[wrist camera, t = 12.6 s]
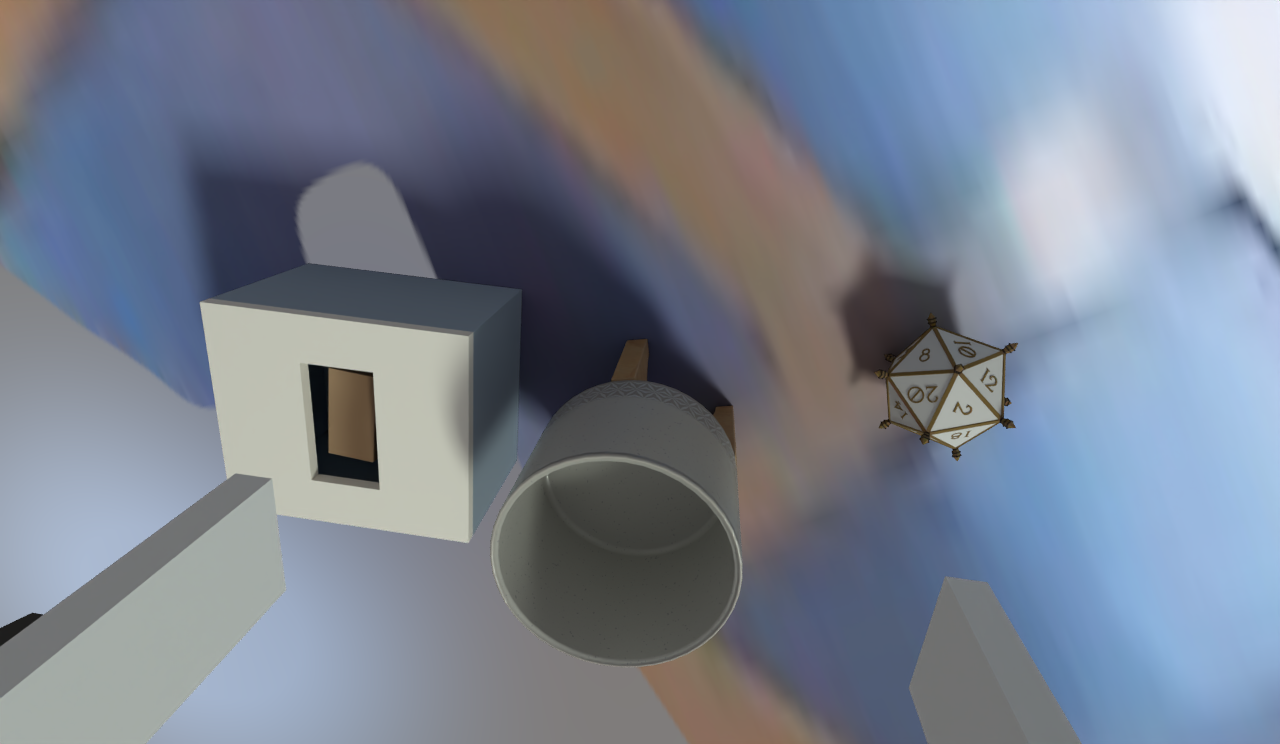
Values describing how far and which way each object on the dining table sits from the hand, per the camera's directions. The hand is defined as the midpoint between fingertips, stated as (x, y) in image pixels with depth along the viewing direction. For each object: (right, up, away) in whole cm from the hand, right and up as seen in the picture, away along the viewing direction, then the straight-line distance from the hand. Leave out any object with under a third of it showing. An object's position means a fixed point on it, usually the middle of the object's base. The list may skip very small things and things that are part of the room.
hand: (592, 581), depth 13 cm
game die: (+21, +5, +33) cm, 40 cm away
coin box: (-16, +5, +37) cm, 41 cm away
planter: (+2, +1, +37) cm, 37 cm away
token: (-16, +5, +37) cm, 41 cm away
